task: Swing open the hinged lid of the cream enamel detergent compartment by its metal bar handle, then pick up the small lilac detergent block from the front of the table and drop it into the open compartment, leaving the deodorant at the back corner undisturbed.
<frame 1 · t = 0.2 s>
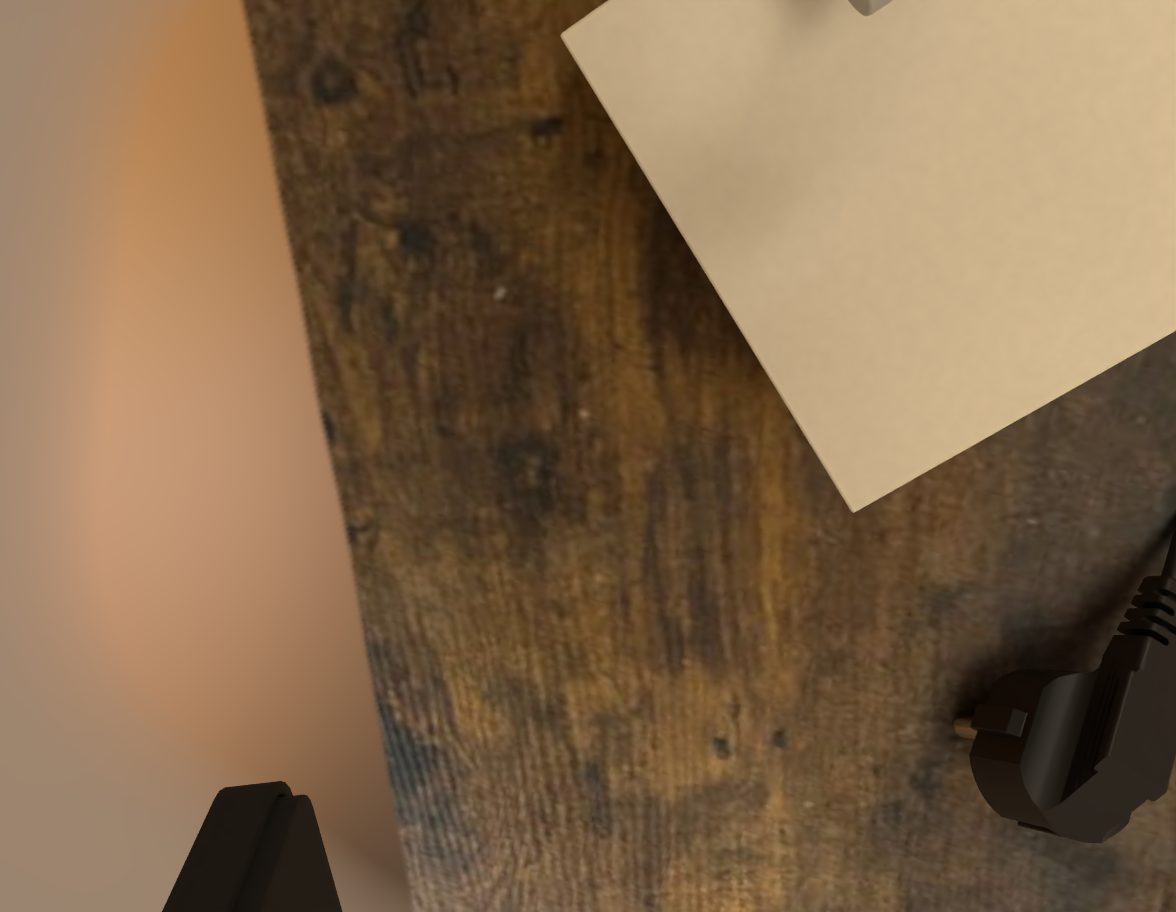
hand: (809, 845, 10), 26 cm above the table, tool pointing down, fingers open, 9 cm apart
power plug: (1071, 633, 39), on the table
lid: (1040, 121, 21), point 11 cm above the table, hinge at 0.0°
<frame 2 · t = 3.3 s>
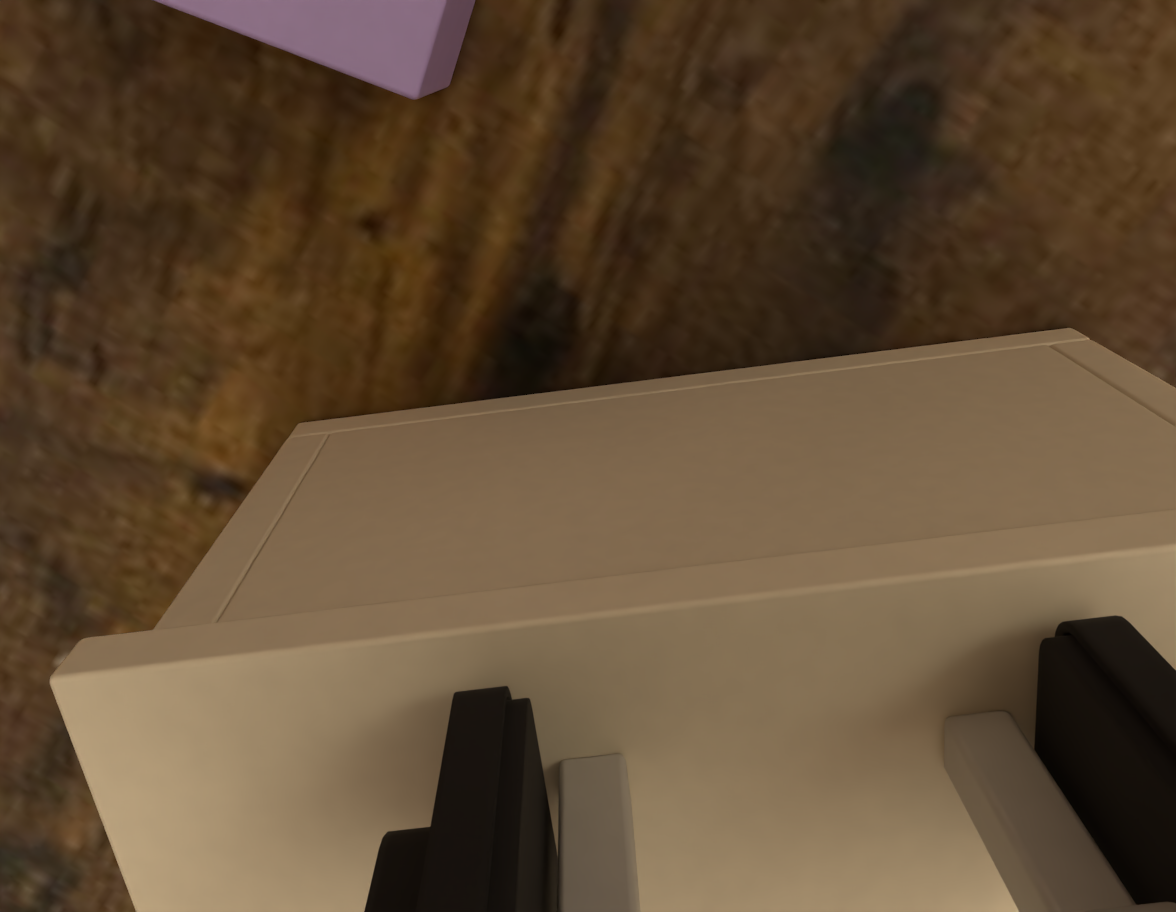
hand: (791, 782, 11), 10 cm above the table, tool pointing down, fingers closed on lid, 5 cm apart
compartment: (707, 659, 22), on the table
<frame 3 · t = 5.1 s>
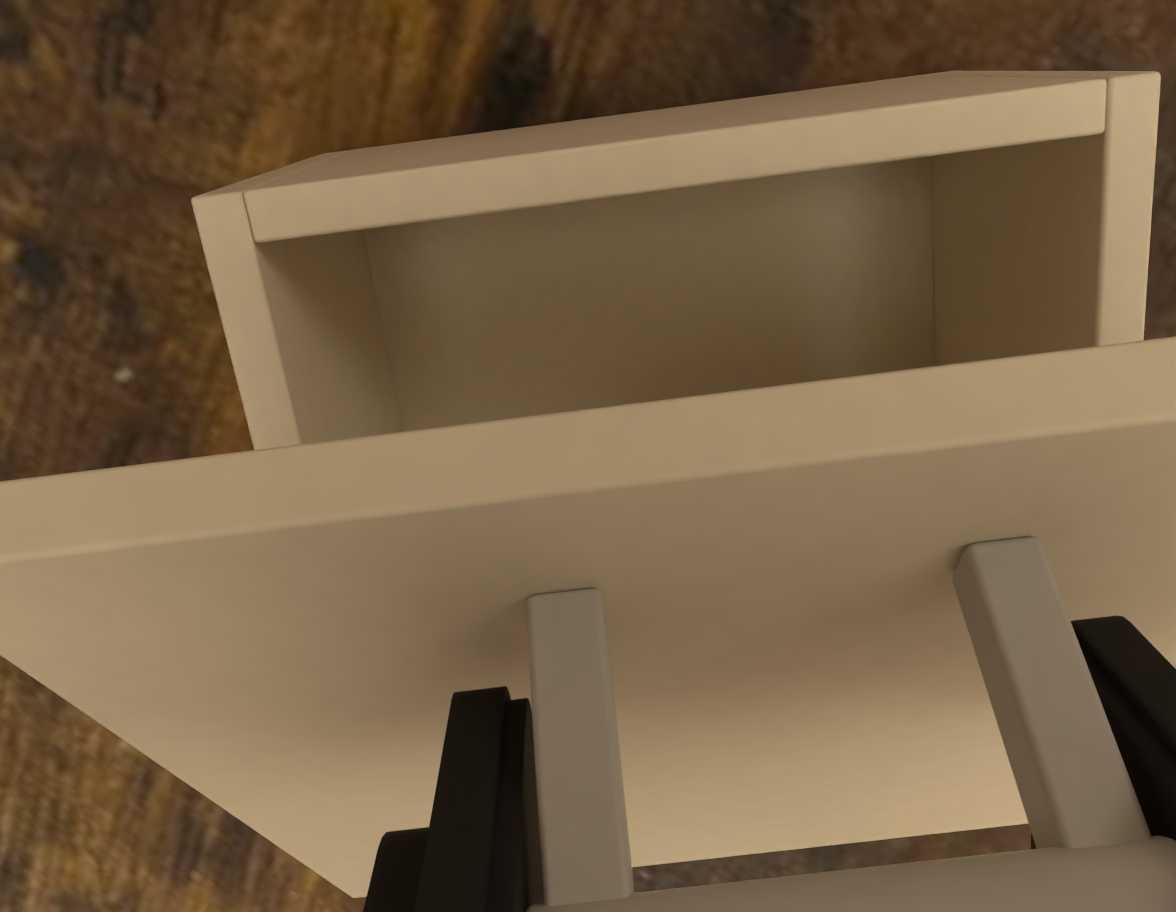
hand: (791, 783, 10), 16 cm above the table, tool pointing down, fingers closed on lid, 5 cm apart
compartment: (662, 375, 26), on the table
lid: (780, 876, 13), point 15 cm above the table, hinge at 35.9°, touching gripper
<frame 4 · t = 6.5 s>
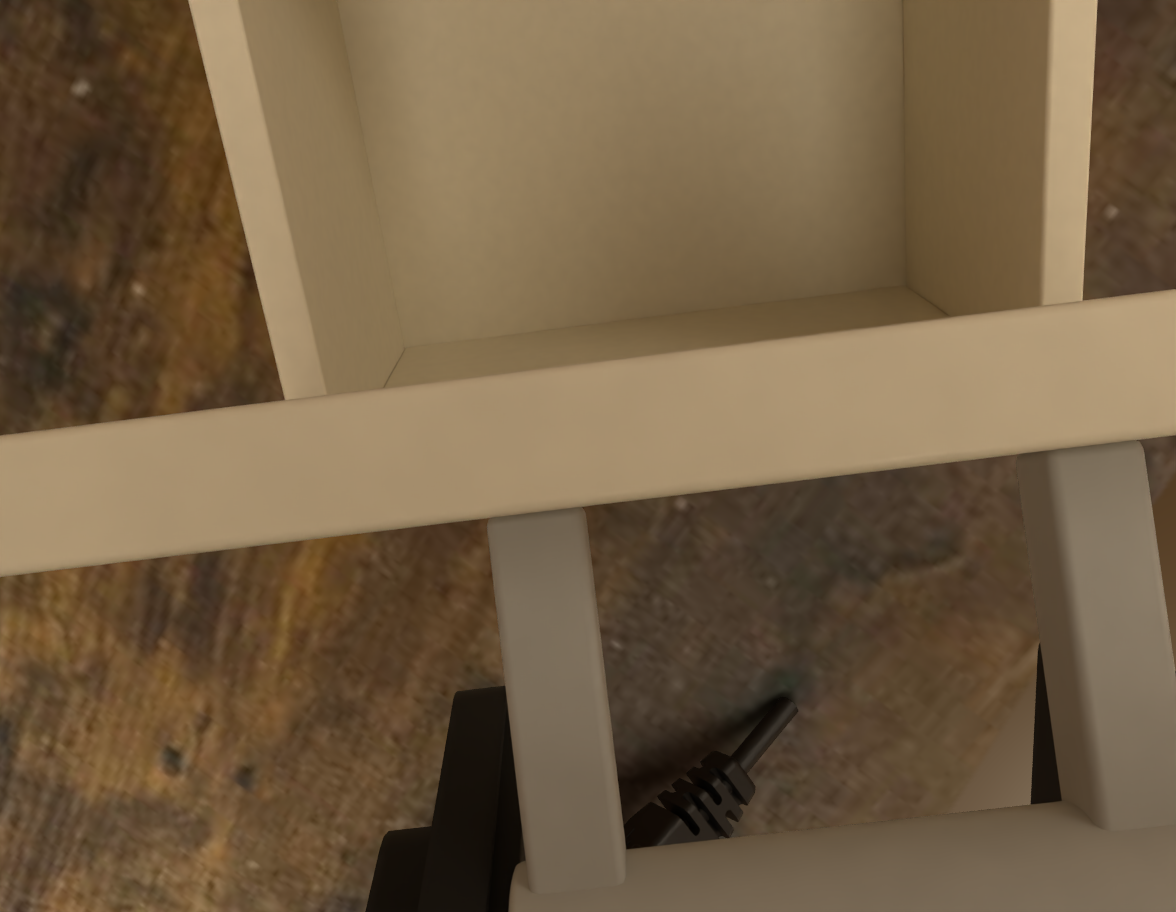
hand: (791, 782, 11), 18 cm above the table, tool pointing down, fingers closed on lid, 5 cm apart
compartment: (628, 90, 25), on the table
power plug: (623, 782, 33), on the table
lid: (752, 625, 12), point 16 cm above the table, hinge at 66.6°, touching gripper
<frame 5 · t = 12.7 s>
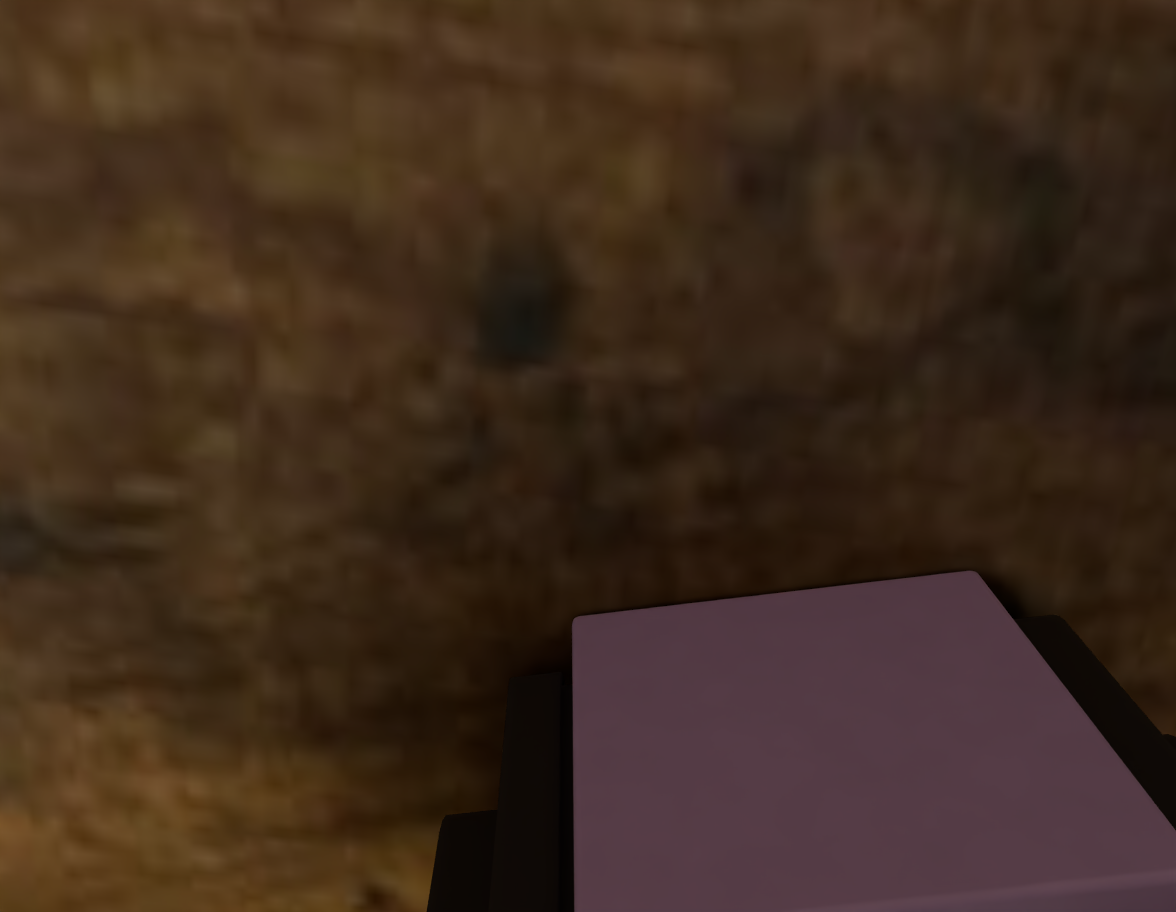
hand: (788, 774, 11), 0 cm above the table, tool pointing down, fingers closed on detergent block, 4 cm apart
detergent block: (783, 755, 11), on the table, touching gripper
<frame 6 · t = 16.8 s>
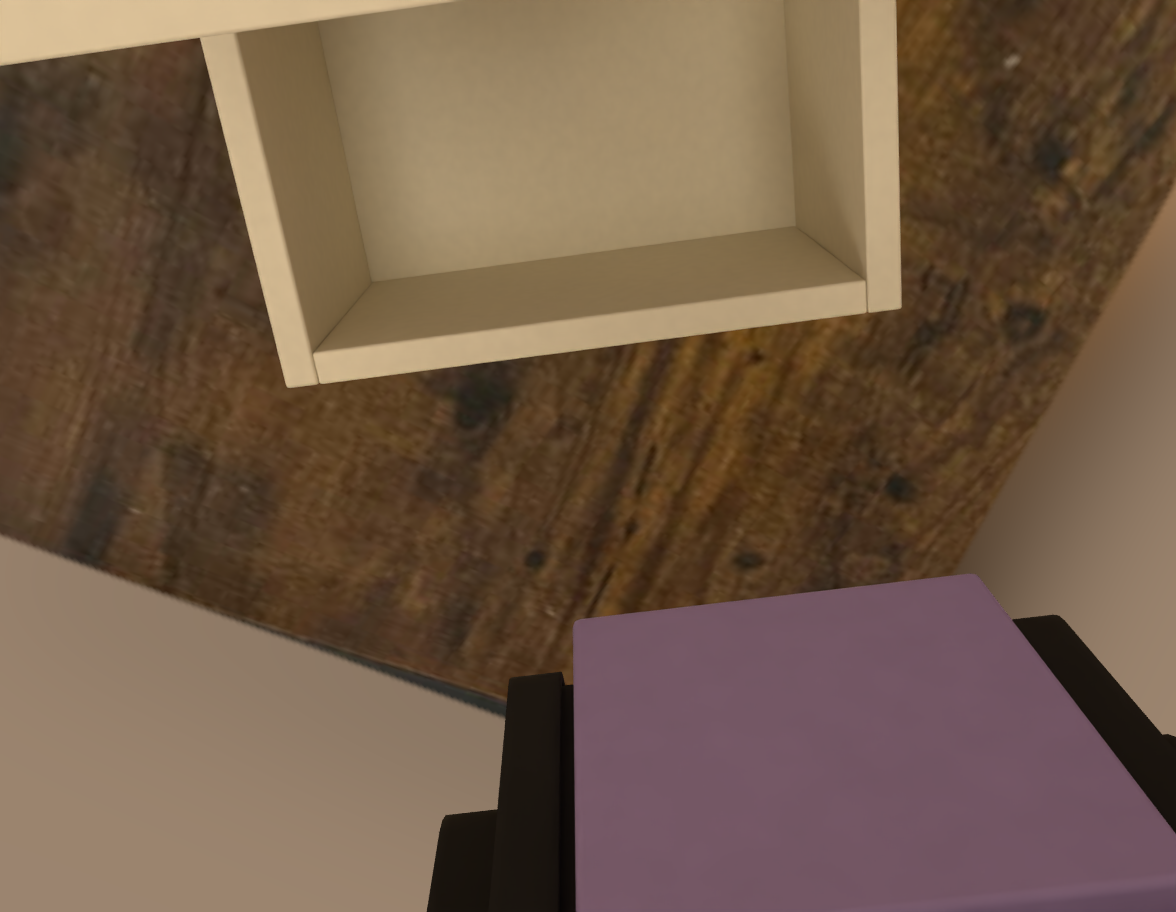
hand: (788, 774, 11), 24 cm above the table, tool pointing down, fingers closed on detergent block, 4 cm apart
detergent block: (783, 758, 11), point 23 cm above the table, touching gripper
compartment: (557, 61, 30), on the table
when the fingers open (7 cm above the table, at t = 21.4 s): detergent block drops 6 cm, resting on compartment.
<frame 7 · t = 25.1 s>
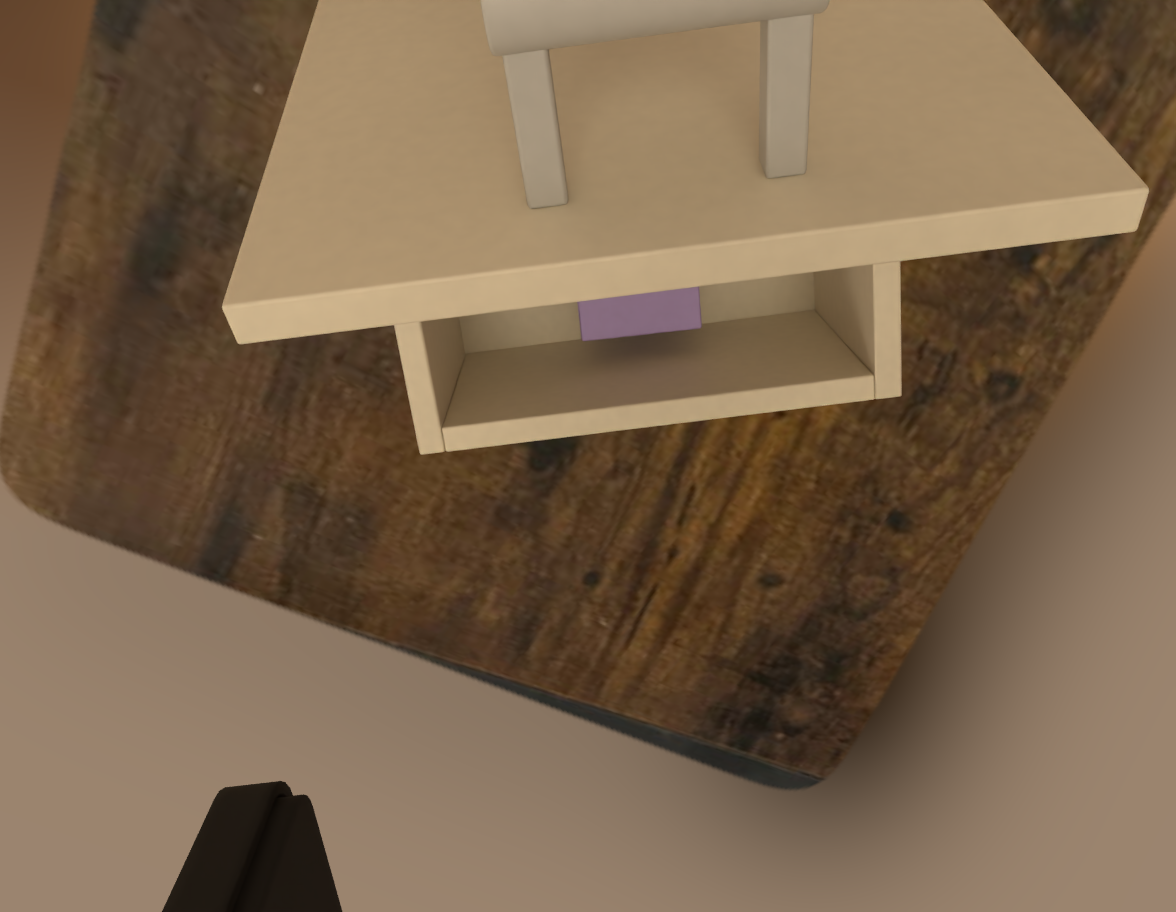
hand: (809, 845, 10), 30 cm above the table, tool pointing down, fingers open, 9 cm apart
detergent block: (629, 252, 37), point 1 cm above the table, touching compartment
compartment: (621, 176, 37), on the table
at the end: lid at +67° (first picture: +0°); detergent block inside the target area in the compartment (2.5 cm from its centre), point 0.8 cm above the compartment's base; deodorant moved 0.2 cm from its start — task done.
